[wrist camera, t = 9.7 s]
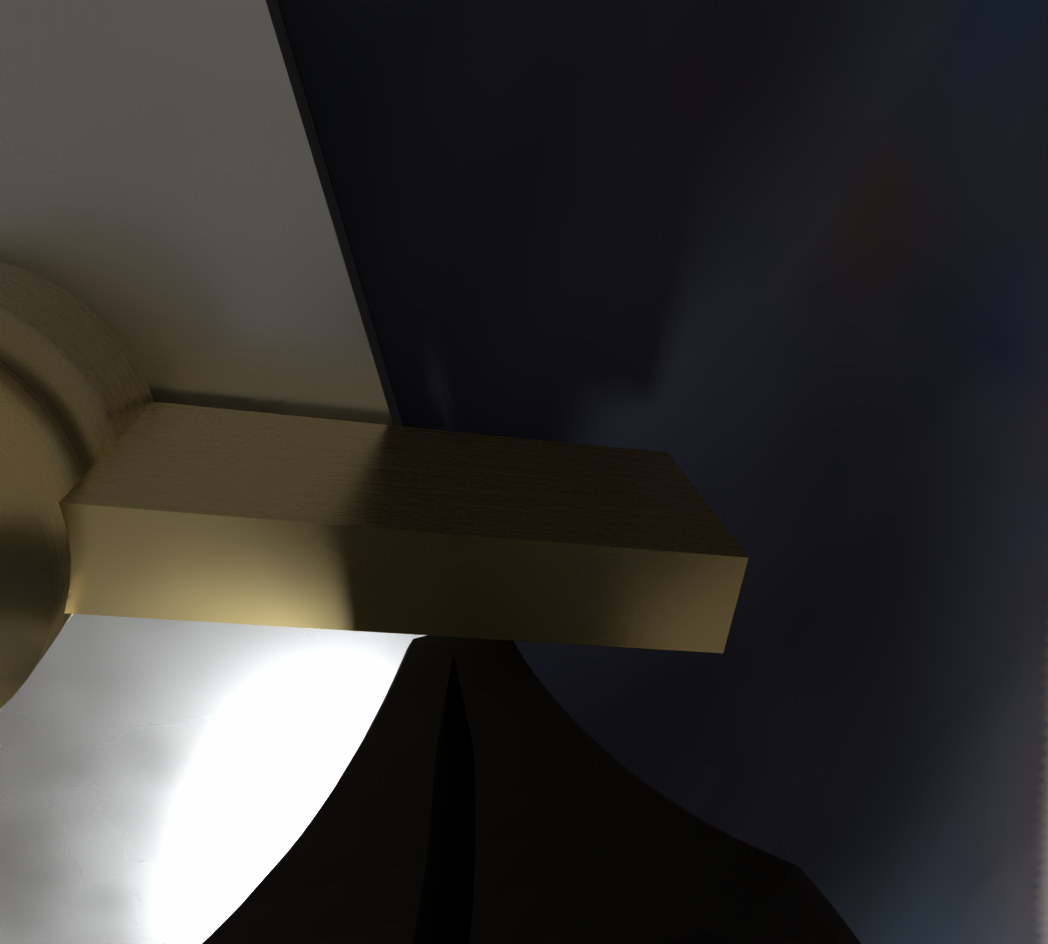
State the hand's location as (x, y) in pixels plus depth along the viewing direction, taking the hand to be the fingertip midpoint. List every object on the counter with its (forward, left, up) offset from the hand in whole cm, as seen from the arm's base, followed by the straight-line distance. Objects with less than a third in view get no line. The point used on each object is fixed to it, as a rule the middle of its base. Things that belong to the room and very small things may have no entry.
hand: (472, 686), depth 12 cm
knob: (+4, +2, -1) cm, 4 cm away
